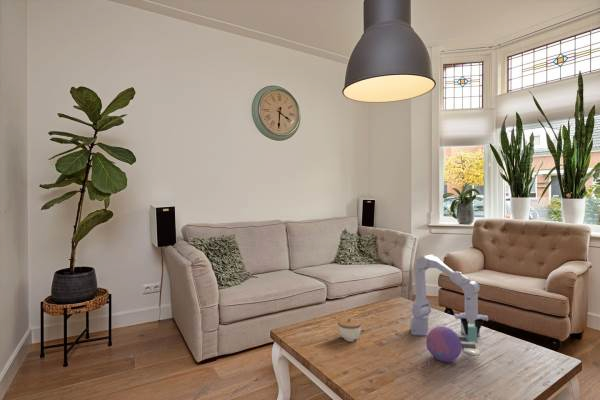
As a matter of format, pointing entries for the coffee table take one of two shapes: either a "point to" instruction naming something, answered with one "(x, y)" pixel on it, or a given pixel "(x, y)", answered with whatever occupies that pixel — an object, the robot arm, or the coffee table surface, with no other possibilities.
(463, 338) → the pocket board
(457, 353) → the decorative ball
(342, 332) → the lidded bowl
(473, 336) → the peg
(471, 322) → the small box
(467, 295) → the robot arm
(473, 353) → the coaster
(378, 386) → the coffee table surface
